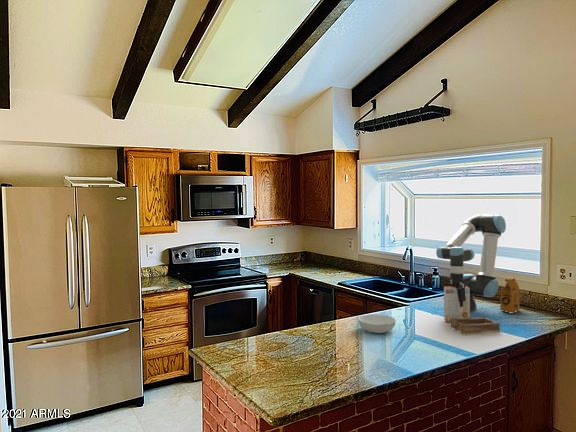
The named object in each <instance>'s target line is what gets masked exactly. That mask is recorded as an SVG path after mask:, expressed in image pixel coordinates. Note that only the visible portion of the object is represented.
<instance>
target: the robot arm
mask: <svg viewBox="0 0 576 432" xmlns="http://www.w3.org/2000/svg"><path fill="white" fill-rule="evenodd" d="M506 224H507V223H506V220H505V218H504V217H503V216H502V215H500V214H476V215H473V216H471V217H469V218H468V219H466V220H465V221H464V222H463V223H462V224H461V228H460V229H459V230H458V231H457V232H456V233H455V234H454V235H453V236H452V238H451V239H449V240H448V242H447V243H446V244H445V245H444V246H438V247H437V248H436V253H435V254H436V256H437V258H438V259H441V260H450V261H449V270H450V271H449V277H450V278H449V279H450V280H448V286H452V287H456V289H457V293H458V298H459V301H458V312H463V301H466V298H465V286H467V287H469V288H470V312H471V310H474V311H476V310H477V303H476V300H475V296H480V297H485V298H493V297H495V295H497V292H498V290H499V286H500V285H499V281H498V280H497V279H496V276H495V273H494V272H495V265H496V258H497V251H498V250H497V248H498V242H499V238H500V237H502V234H504V233H505V232H506V230H507V225H506ZM479 232H480V233H481V234H482V236H483V242H482V248H481V249H482V250H481V257H480V263H479V272H477V273H476V276H475V275H474V274H472V273H465V272H464V271H465V270H464V262H470V261H471V260H473V259H474V258H475V252H474V250H473V249H472V248H464V247H462V246H463V244H465V242H466V241H468V239H469V238H470V236H473V235H474V234H476V233H479ZM475 309H476V310H475Z"/></svg>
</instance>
